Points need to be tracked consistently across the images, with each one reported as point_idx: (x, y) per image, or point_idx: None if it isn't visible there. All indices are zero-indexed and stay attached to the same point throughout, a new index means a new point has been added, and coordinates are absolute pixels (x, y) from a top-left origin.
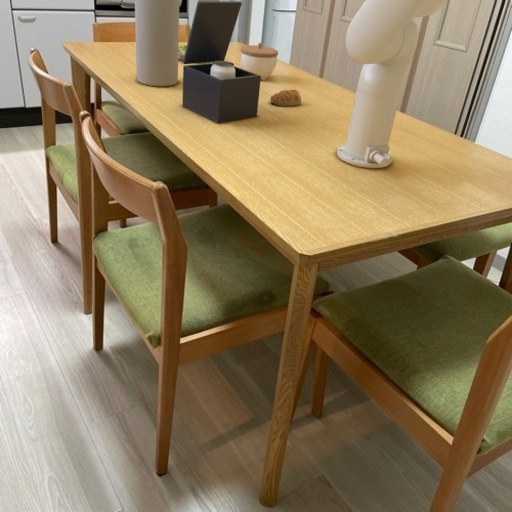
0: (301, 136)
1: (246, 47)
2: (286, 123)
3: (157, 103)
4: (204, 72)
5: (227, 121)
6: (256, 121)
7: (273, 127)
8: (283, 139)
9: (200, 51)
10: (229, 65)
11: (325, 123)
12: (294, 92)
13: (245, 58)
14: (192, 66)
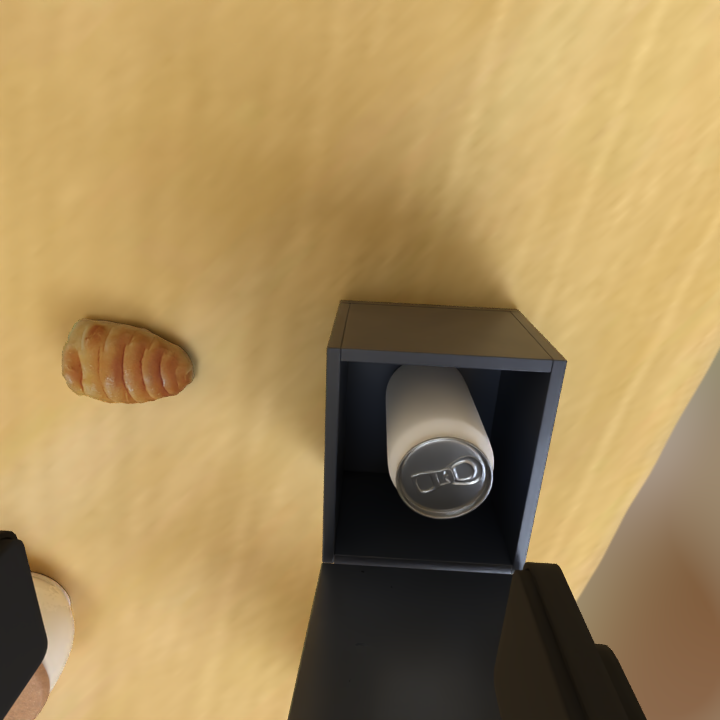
0: (353, 42)
1: (12, 713)
2: (294, 189)
3: (533, 530)
4: (424, 538)
5: (477, 307)
6: (381, 261)
7: (374, 181)
8: (443, 57)
9: (471, 596)
10: (426, 458)
11: (142, 106)
12: (86, 353)
13: (56, 661)
14: (487, 561)
